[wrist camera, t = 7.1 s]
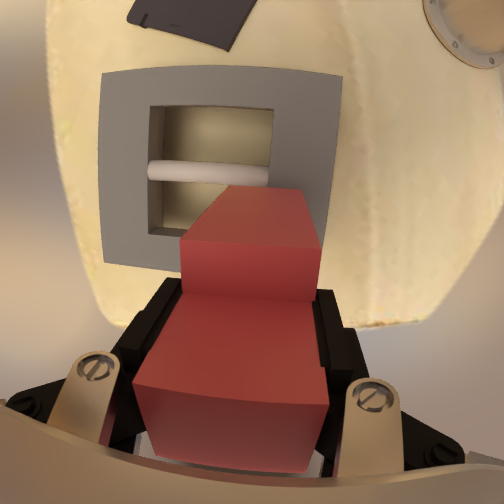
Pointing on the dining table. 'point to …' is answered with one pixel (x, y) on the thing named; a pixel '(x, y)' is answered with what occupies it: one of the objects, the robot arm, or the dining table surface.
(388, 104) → the dining table surface
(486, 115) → the dining table surface
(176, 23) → the notebook
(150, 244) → the grey frame with crossbar
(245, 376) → the red stepped block
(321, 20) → the dining table surface
